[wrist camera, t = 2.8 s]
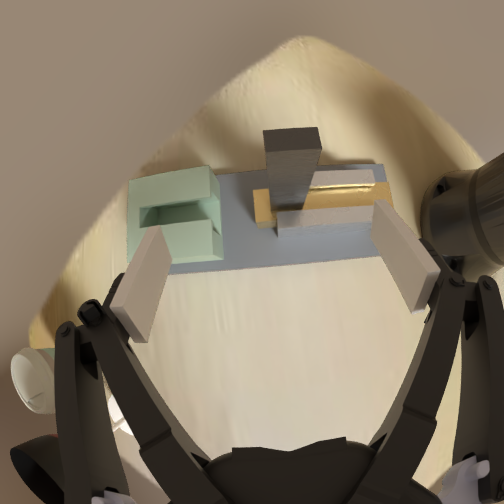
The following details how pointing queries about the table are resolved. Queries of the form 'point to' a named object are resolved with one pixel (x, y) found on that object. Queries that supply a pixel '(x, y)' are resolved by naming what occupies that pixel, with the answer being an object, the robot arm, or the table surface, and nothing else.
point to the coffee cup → (35, 378)
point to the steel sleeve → (329, 217)
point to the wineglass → (51, 461)
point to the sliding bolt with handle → (303, 179)
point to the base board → (275, 230)
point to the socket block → (178, 213)
